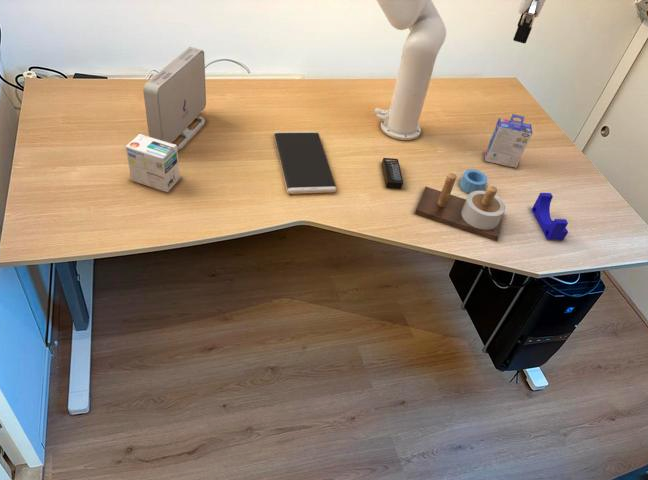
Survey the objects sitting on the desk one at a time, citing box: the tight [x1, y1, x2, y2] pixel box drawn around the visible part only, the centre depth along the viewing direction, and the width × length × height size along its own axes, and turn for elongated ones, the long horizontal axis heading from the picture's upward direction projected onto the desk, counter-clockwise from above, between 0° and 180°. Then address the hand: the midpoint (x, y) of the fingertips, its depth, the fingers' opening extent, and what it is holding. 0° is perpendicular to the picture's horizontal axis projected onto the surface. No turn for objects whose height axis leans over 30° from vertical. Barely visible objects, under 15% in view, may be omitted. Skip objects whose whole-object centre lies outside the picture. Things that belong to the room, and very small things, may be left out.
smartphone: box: [273, 131, 337, 195], centre depth 153 cm, size 13×27×2 cm, turn 11°
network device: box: [142, 46, 207, 151], centre depth 150 cm, size 26×9×20 cm, turn 161°
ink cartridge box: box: [484, 113, 533, 169], centre depth 161 cm, size 10×6×14 cm, turn 78°
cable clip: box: [531, 192, 569, 241], centre depth 146 cm, size 12×4×6 cm, turn 5°
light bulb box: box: [125, 133, 181, 193], centre depth 138 cm, size 11×7×11 cm, turn 71°
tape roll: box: [459, 168, 489, 195], centre depth 154 cm, size 7×7×4 cm
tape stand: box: [414, 172, 506, 241], centre depth 142 cm, size 22×11×11 cm, turn 69°
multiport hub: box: [381, 157, 404, 190], centre depth 154 cm, size 4×11×2 cm, turn 2°
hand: (521, 34), depth 141 cm, fingers open, 9 cm apart
